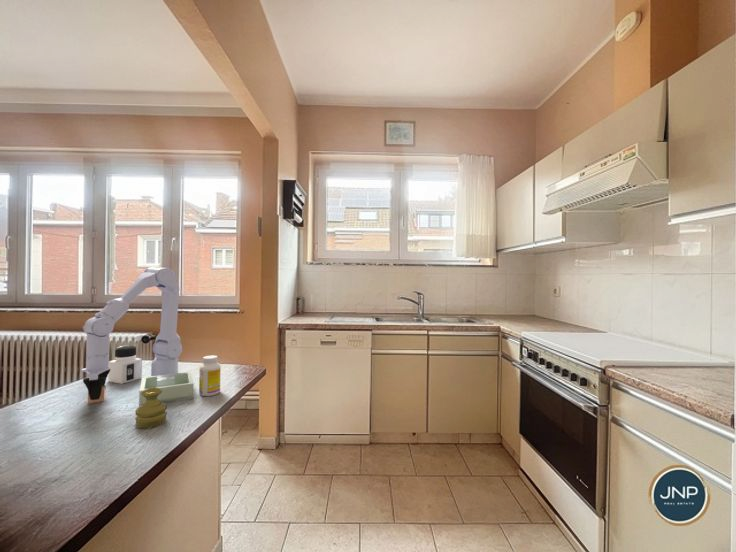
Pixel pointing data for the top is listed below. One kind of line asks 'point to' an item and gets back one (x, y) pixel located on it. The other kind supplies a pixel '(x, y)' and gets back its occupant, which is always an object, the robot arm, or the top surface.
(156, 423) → the brass calibration weight
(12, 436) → the top surface
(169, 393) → the tote
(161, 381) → the steel block
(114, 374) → the container
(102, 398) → the terracotta box
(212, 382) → the supplement bottle
